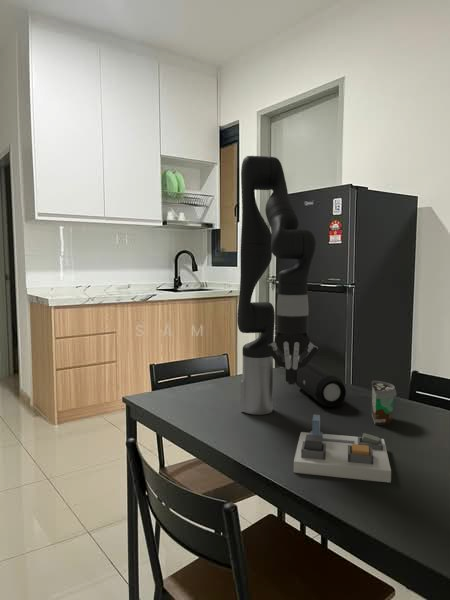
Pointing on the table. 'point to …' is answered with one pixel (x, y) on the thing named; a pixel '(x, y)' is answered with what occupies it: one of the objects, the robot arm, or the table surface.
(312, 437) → the gray push button
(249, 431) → the table surface
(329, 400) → the portable speaker
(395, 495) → the table surface
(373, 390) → the food container
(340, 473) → the control panel
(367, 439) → the olive rocker
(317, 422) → the blue paddle
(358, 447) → the orange push button
